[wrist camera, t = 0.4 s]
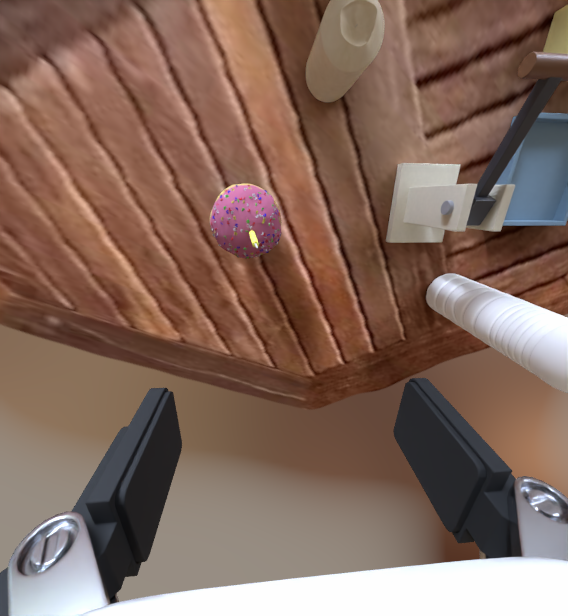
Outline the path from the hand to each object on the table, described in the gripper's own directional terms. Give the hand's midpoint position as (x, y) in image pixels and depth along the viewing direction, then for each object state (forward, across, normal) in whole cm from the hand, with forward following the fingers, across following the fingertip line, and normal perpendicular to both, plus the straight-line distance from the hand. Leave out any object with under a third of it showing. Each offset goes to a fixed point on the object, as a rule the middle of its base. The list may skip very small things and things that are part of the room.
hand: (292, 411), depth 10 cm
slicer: (+30, -21, -7) cm, 37 cm away
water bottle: (+30, -29, +6) cm, 42 cm away
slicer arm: (+19, -21, -13) cm, 31 cm away
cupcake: (+30, +3, -5) cm, 30 cm away
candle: (+30, -7, -21) cm, 37 cm away
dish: (+30, -37, -12) cm, 49 cm away
